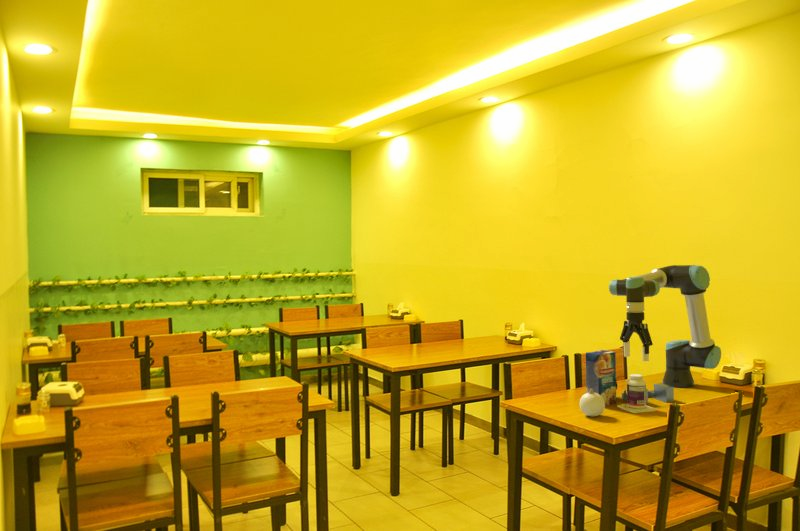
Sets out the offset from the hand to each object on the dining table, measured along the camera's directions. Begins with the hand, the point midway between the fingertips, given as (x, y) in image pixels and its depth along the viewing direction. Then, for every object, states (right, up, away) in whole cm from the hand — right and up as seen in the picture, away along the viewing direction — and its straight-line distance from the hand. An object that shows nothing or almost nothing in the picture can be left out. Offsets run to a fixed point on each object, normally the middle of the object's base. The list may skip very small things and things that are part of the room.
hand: (636, 358), depth 288 cm
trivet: (0, -23, 0) cm, 23 cm away
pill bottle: (0, -22, +1) cm, 22 cm away
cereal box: (-12, -23, +12) cm, 28 cm away
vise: (+9, -22, +16) cm, 29 cm away
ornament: (-23, -24, -10) cm, 34 cm away
